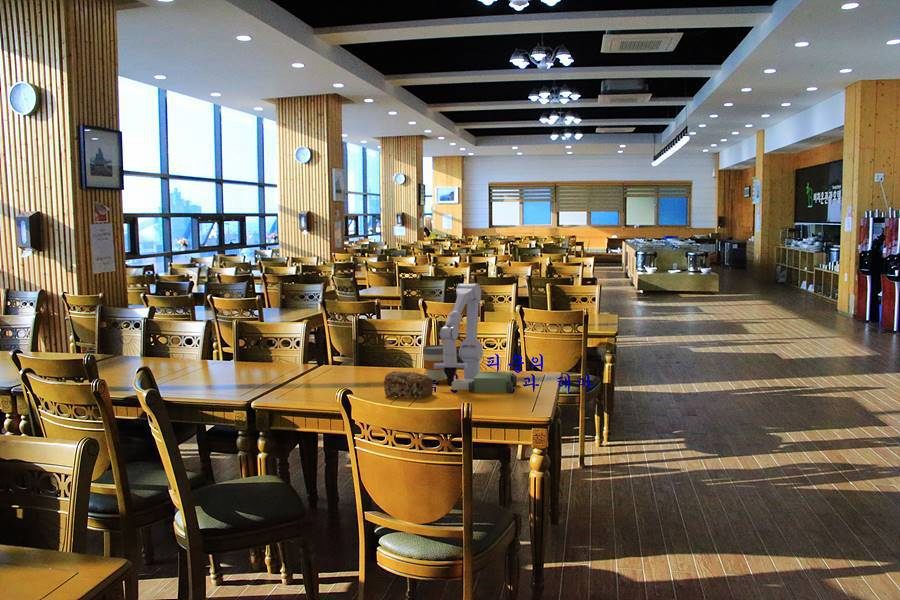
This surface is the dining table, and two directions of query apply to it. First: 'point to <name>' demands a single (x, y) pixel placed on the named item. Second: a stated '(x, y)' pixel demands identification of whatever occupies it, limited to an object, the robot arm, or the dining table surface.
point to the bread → (408, 385)
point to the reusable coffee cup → (434, 361)
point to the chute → (460, 384)
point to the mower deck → (493, 382)
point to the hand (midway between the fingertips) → (451, 384)
